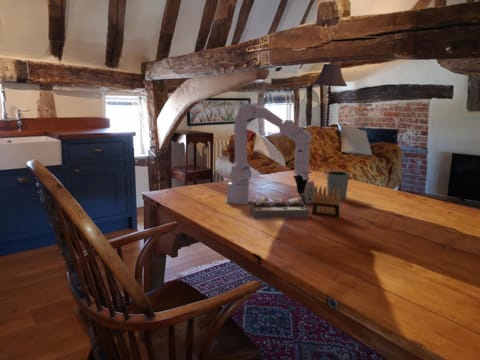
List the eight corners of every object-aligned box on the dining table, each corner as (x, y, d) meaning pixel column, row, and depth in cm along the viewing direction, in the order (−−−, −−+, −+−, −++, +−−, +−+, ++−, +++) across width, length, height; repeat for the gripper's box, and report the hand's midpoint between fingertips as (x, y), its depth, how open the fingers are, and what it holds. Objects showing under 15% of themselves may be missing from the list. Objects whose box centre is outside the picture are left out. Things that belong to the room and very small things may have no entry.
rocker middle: (272, 202, 148) (273, 198, 148) (271, 199, 151) (272, 196, 151) (284, 205, 149) (285, 201, 149) (283, 202, 152) (284, 199, 152)
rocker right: (290, 205, 149) (289, 201, 149) (289, 202, 152) (288, 199, 152) (302, 201, 149) (302, 198, 149) (300, 199, 152) (300, 196, 152)
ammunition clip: (311, 214, 149) (313, 186, 146) (312, 213, 150) (314, 185, 147) (338, 217, 145) (341, 188, 142) (339, 216, 147) (341, 187, 144)
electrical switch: (307, 205, 161) (306, 184, 160) (297, 203, 165) (296, 183, 163) (317, 200, 168) (316, 180, 167) (307, 199, 172) (306, 180, 170)
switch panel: (253, 218, 143) (254, 209, 142) (250, 209, 155) (250, 201, 154) (308, 217, 145) (309, 209, 144) (301, 208, 156) (302, 200, 156)
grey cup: (323, 198, 171) (325, 174, 168) (327, 193, 180) (329, 169, 177) (346, 201, 167) (348, 176, 164) (348, 196, 176) (350, 171, 173)
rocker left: (257, 206, 148) (255, 203, 148) (256, 203, 151) (255, 200, 151) (269, 201, 148) (267, 198, 148) (267, 199, 151) (266, 196, 151)
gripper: (316, 163, 140) (314, 197, 143) (307, 157, 154) (305, 188, 157) (298, 163, 140) (297, 198, 143) (290, 157, 154) (289, 188, 157)
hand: (300, 193), depth 150 cm, fingers closed
